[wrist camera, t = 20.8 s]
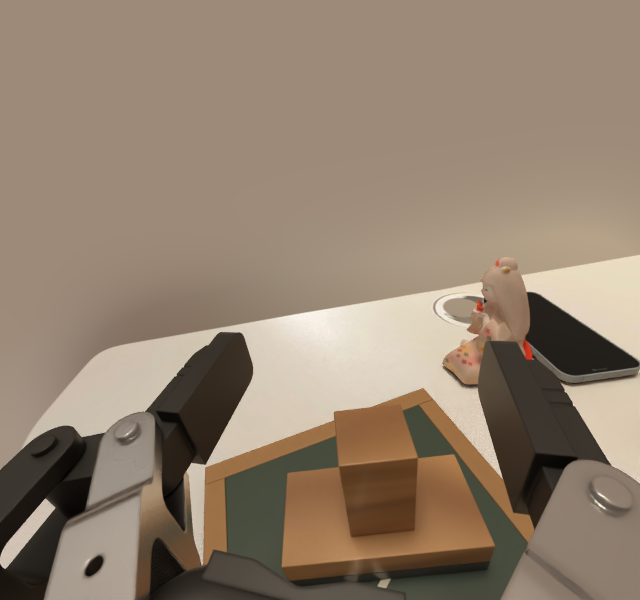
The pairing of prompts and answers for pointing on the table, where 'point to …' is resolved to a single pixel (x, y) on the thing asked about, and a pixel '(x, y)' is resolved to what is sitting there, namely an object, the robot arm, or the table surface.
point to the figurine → (494, 320)
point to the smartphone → (573, 345)
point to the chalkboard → (321, 453)
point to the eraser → (380, 509)
